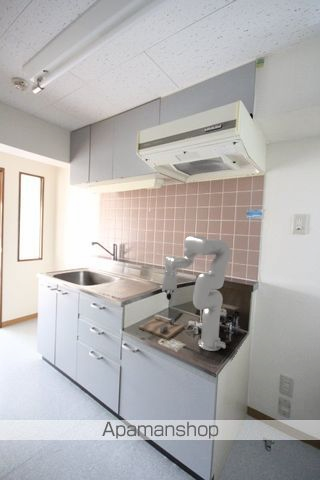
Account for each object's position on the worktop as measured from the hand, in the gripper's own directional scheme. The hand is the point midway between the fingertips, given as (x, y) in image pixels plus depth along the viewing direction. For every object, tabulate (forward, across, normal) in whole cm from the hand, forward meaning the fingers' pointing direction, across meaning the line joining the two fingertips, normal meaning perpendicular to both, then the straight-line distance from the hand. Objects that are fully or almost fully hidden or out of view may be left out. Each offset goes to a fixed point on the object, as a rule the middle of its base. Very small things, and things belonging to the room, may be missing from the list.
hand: (168, 299), depth 158 cm
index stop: (+15, +7, +21) cm, 27 cm away
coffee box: (+15, -25, +11) cm, 31 cm away
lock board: (+15, +7, +13) cm, 21 cm away
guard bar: (+13, +4, +6) cm, 15 cm away
